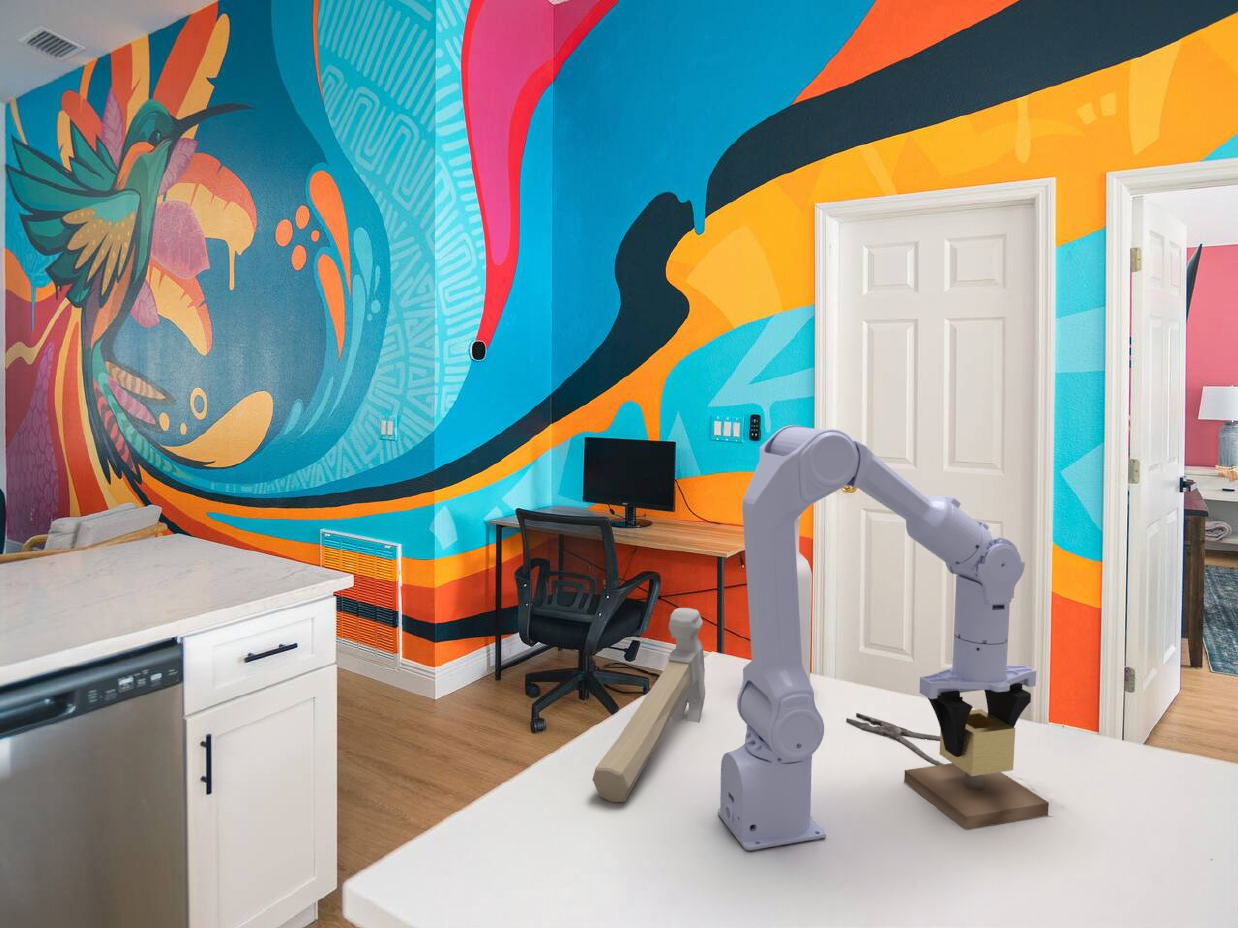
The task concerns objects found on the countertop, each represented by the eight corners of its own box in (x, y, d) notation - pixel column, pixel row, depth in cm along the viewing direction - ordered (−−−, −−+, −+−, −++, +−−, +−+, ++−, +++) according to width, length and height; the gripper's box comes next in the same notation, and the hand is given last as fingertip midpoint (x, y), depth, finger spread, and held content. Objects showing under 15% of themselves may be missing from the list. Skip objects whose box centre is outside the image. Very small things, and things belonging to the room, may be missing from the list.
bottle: (800, 710, 119) (804, 512, 116) (750, 699, 123) (753, 508, 120) (816, 693, 126) (821, 505, 123) (769, 683, 130) (772, 501, 127)
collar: (971, 776, 90) (973, 733, 89) (939, 754, 95) (941, 713, 95) (1013, 769, 91) (1015, 728, 91) (979, 748, 97) (980, 708, 96)
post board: (966, 829, 87) (968, 777, 86) (904, 781, 98) (905, 734, 97) (1048, 814, 90) (1051, 764, 89) (979, 770, 101) (981, 724, 100)
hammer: (622, 734, 89) (704, 608, 115) (584, 726, 91) (674, 604, 117) (634, 847, 94) (711, 702, 120) (598, 838, 96) (681, 697, 121)
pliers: (984, 777, 98) (828, 734, 110) (984, 783, 98) (828, 740, 110) (1001, 748, 106) (853, 711, 117) (1000, 754, 106) (853, 717, 118)
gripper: (950, 653, 86) (945, 773, 87) (1059, 641, 90) (1052, 756, 91) (909, 633, 93) (905, 745, 94) (1012, 623, 97) (1007, 731, 98)
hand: (975, 749), depth 93 cm, fingers closed on collar, 6 cm apart
